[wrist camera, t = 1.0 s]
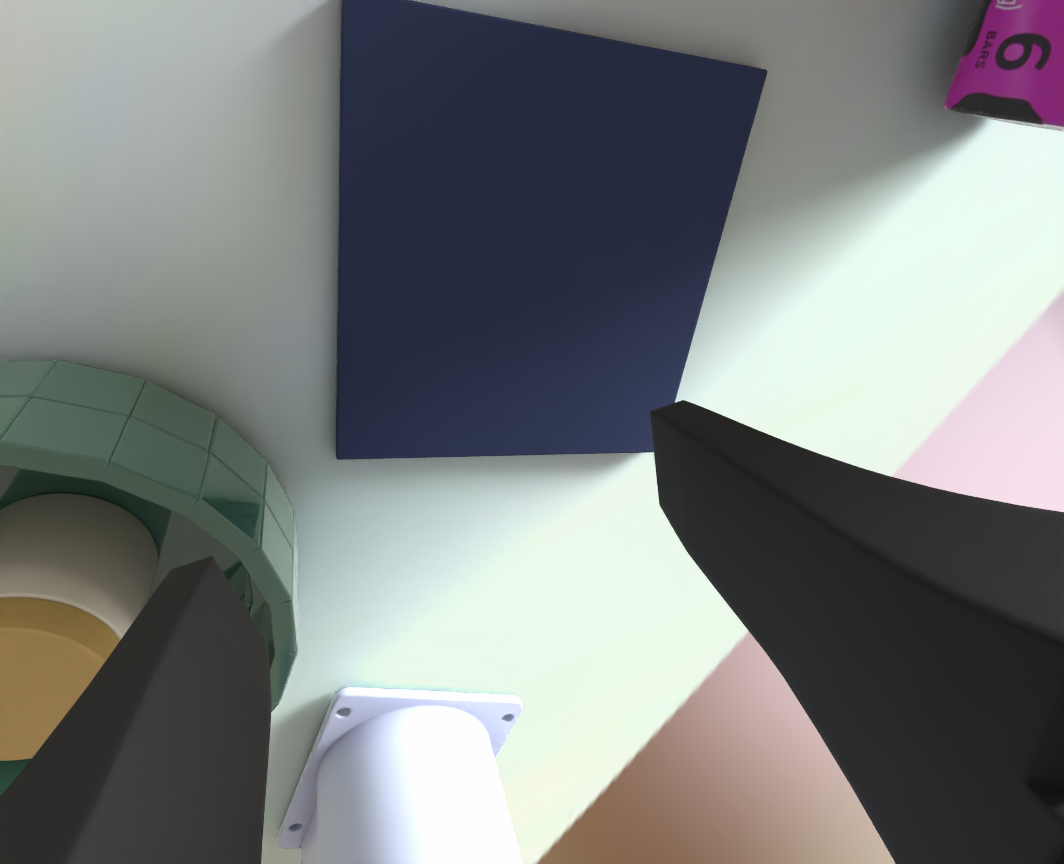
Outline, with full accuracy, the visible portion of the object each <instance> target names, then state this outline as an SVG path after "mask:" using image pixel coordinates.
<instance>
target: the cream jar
mask: <svg viewBox="0 0 1064 864" xmlns="http://www.w3.org/2000/svg"><path fill="white" fill-rule="evenodd" d="M157 562H158V554H157V548H156V544H155V542H154V540H153V537H152V536H151V534H150V532H149V531H148V529H147V528H146V527H145V526H144V525H143V524H142V522H141V521H139V520H138V519H137V518H136V517H135V516H134V515H132V514H131V513H129V512H128V511H126V510H125V509H123V508H121V507H119V506H117V505H115V504H113V503H110V502H108V501H105V500H102V499H99V498H95V497H91V496H86V495H80V494H70V493H54V494H43V495H38V496H32V497H29V498H25V499H22V500H19V501H17V502H15V503H12V504H10V505H8V506H6V507H4V508H3V509H1V510H0V761H7V760H22V759H30V758H33V756H34V755H35V754H36V752H37V751H38V750H39V749H40V747H41V746H42V745H43V743H44V742H45V741H46V740H47V738H48V737H49V736H50V734H51V733H52V732H53V730H54V729H55V728H56V727H57V725H58V724H59V723H60V721H61V720H62V719H63V718H64V716H65V715H66V714H67V712H68V711H69V710H70V709H71V707H72V706H73V705H74V703H75V702H76V701H77V699H78V698H79V697H80V696H81V694H82V693H83V692H84V690H85V689H86V688H87V686H88V685H89V684H90V682H91V681H92V679H93V678H94V677H95V675H96V674H97V672H98V671H99V670H100V668H101V667H102V665H103V664H104V663H105V661H106V660H107V658H108V657H109V656H110V654H111V653H112V651H113V650H114V649H115V647H116V646H117V644H118V643H119V642H120V640H121V639H122V637H123V636H124V635H125V633H126V632H127V630H128V629H129V627H130V626H131V625H132V623H133V622H134V620H135V619H136V617H137V616H138V614H139V613H140V612H141V610H142V609H143V607H144V606H145V604H146V603H147V601H148V598H149V594H150V590H151V586H152V583H153V579H154V575H155V572H156V568H157Z"/></svg>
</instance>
